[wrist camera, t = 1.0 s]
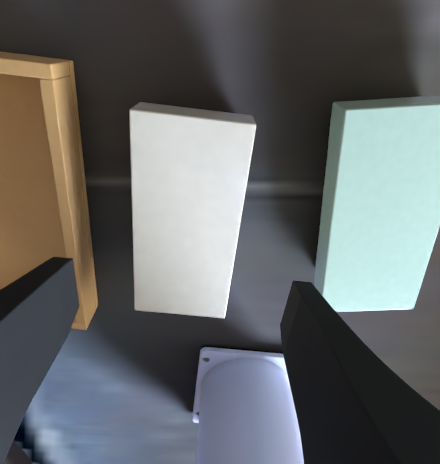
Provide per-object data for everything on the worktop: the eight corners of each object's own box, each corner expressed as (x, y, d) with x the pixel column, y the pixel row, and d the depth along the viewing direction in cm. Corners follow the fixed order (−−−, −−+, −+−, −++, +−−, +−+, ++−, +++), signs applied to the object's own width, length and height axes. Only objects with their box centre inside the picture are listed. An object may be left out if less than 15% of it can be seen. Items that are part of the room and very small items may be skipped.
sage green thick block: (389, 274, 21) (413, 309, 18) (307, 277, 21) (320, 312, 19) (435, 89, 16) (480, 100, 13) (324, 97, 16) (345, 109, 13)
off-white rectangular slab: (224, 283, 22) (224, 318, 19) (146, 275, 21) (134, 310, 19) (251, 109, 16) (257, 124, 13) (145, 96, 16) (128, 109, 13)
